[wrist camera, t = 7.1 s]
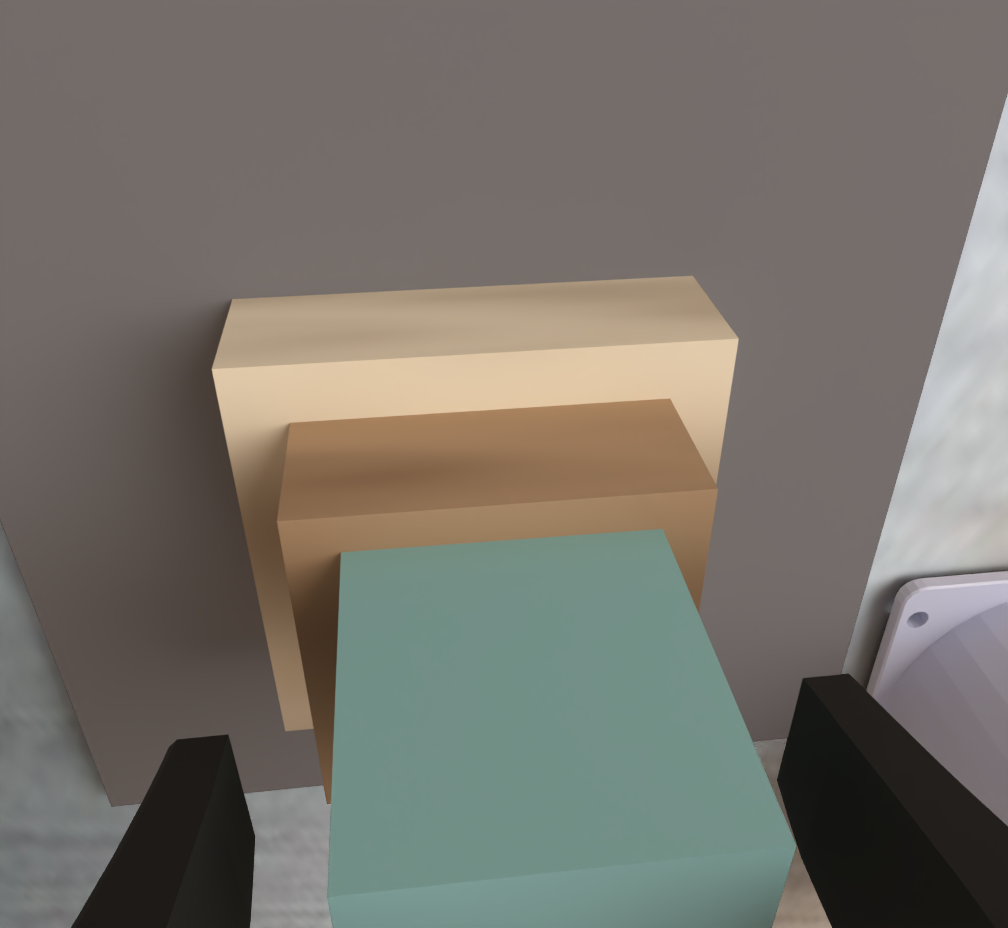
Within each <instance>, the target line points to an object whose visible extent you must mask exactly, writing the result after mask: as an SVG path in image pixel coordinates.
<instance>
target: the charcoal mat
mask: <svg viewBox="0 0 1008 928" xmlns="http://www.w3.org/2000/svg"><path fill="white" fill-rule="evenodd" d="M1007 94H1008V0H0V520H1V523H2V526H3V528H4V531H5V533H6V536H7V538H8V541H9V544H10V546H11V549H12V551H13V554H14V557H15V559H16V562H17V564H18V567H19V569H20V572H21V575H22V577H23V580H24V582H25V585H26V587H27V590H28V593H29V595H30V598H31V600H32V603H33V605H34V608H35V611H36V613H37V616H38V618H39V621H40V624H41V626H42V629H43V631H44V634H45V636H46V639H47V642H48V644H49V647H50V649H51V652H52V654H53V657H54V660H55V662H56V665H57V667H58V670H59V672H60V675H61V678H62V680H63V683H64V685H65V688H66V691H67V693H68V696H69V698H70V701H71V703H72V706H73V709H74V711H75V714H76V716H77V719H78V721H79V724H80V727H81V729H82V732H83V734H84V737H85V739H86V742H87V745H88V747H89V750H90V752H91V755H92V758H93V760H94V763H95V765H96V768H97V770H98V773H99V776H100V778H101V781H102V783H103V786H104V788H105V791H106V794H107V796H108V799H109V801H110V804H111V806H112V807H113V806H123V805H133V804H141V803H142V801H143V799H144V797H145V795H146V793H147V791H148V789H149V787H150V785H151V783H152V781H153V779H154V777H155V775H156V773H157V771H158V769H159V767H160V765H161V763H162V761H163V759H164V757H165V754H166V752H167V750H168V748H169V746H170V745H171V744H173V743H174V742H175V741H176V740H177V739H186V738H196V737H206V736H217V735H227V734H229V738H230V742H231V746H232V750H233V754H234V757H235V761H236V765H237V769H238V773H239V777H240V781H241V784H242V788H243V792H244V793H251V792H261V791H271V790H280V789H290V788H300V787H310V786H320V785H324V784H323V779H322V773H321V767H320V762H319V756H318V750H317V745H316V739H315V733H314V729H305V730H294V731H285V727H284V722H283V717H282V712H281V708H280V703H279V698H278V693H277V688H276V683H275V678H274V673H273V668H272V663H271V658H270V653H269V649H268V644H267V639H266V634H265V629H264V624H263V619H262V614H261V609H260V604H259V599H258V594H257V589H256V585H255V580H254V575H253V570H252V565H251V560H250V555H249V550H248V545H247V540H246V535H245V530H244V526H243V521H242V516H241V511H240V506H239V501H238V496H237V491H236V486H235V481H234V476H233V471H232V467H231V462H230V457H229V452H228V447H227V442H226V437H225V432H224V427H223V422H222V417H221V412H220V407H219V403H218V398H217V393H216V388H215V383H214V378H213V373H212V367H213V363H214V360H215V356H216V353H217V350H218V346H219V343H220V339H221V336H222V333H223V329H224V326H225V322H226V319H227V316H228V312H229V309H230V306H231V302H232V299H246V298H266V297H286V296H305V295H325V294H344V293H364V292H384V291H403V290H423V289H443V288H462V287H482V286H501V285H521V284H541V283H560V282H580V281H600V280H619V279H639V278H658V277H678V276H693V277H694V278H695V280H696V281H697V282H698V284H699V285H700V286H701V288H702V289H703V290H704V292H705V293H706V295H707V296H708V297H709V299H710V300H711V301H712V303H713V304H714V305H715V307H716V308H717V310H718V311H719V312H720V314H721V315H722V316H723V318H724V319H725V321H726V322H727V323H728V325H729V326H730V327H731V329H732V330H733V331H734V333H735V334H736V336H737V337H738V338H739V340H738V347H737V353H736V360H735V366H734V373H733V379H732V386H731V392H730V399H729V405H728V412H727V418H726V425H725V431H724V438H723V444H722V451H721V457H720V464H719V470H718V477H717V483H716V486H717V487H718V493H717V500H716V506H715V512H714V519H713V525H712V532H711V538H710V544H709V551H708V557H707V564H706V570H705V577H704V583H703V589H702V596H701V602H700V609H699V616H700V618H701V621H702V623H703V625H704V628H705V630H706V632H707V635H708V637H709V640H710V642H711V644H712V647H713V649H714V651H715V654H716V656H717V658H718V661H719V663H720V666H721V668H722V670H723V673H724V675H725V677H726V680H727V682H728V684H729V687H730V689H731V692H732V694H733V696H734V699H735V701H736V703H737V706H738V708H739V711H740V713H741V715H742V718H743V720H744V722H745V725H746V727H747V729H748V732H749V734H750V737H751V739H752V741H763V740H772V739H782V738H788V735H789V731H790V727H791V723H792V719H793V715H794V711H795V707H796V703H797V699H798V695H799V691H800V687H801V683H802V679H803V678H809V677H819V676H830V675H840V674H841V671H842V668H843V664H844V661H845V657H846V654H847V650H848V647H849V644H850V640H851V637H852V633H853V630H854V626H855V623H856V619H857V616H858V612H859V609H860V605H861V602H862V598H863V595H864V591H865V588H866V584H867V581H868V577H869V574H870V570H871V567H872V563H873V560H874V556H875V553H876V550H877V546H878V543H879V539H880V536H881V532H882V529H883V525H884V522H885V518H886V515H887V511H888V508H889V504H890V501H891V497H892V494H893V490H894V487H895V483H896V480H897V476H898V473H899V469H900V466H901V463H902V459H903V456H904V452H905V449H906V445H907V442H908V438H909V435H910V431H911V428H912V424H913V421H914V417H915V414H916V410H917V407H918V403H919V400H920V396H921V393H922V389H923V386H924V382H925V379H926V375H927V372H928V369H929V365H930V362H931V358H932V355H933V351H934V348H935V344H936V341H937V337H938V334H939V330H940V327H941V323H942V320H943V316H944V313H945V309H946V306H947V302H948V299H949V295H950V292H951V288H952V285H953V281H954V278H955V275H956V271H957V268H958V264H959V261H960V257H961V254H962V250H963V247H964V243H965V240H966V236H967V233H968V229H969V226H970V222H971V219H972V215H973V212H974V208H975V205H976V201H977V198H978V194H979V191H980V187H981V184H982V181H983V177H984V174H985V170H986V167H987V163H988V160H989V156H990V153H991V149H992V146H993V142H994V139H995V135H996V132H997V128H998V125H999V121H1000V118H1001V114H1002V111H1003V107H1004V104H1005V100H1006V97H1007Z"/></svg>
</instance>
